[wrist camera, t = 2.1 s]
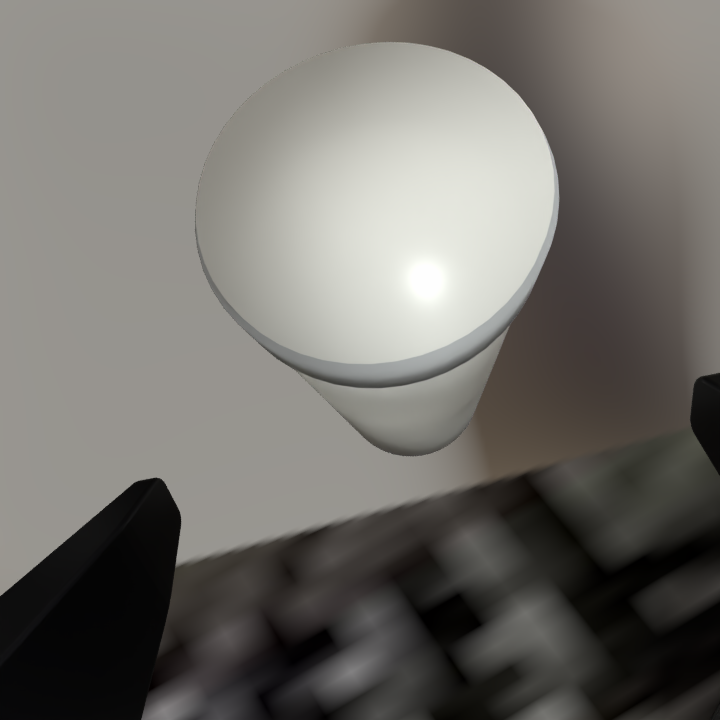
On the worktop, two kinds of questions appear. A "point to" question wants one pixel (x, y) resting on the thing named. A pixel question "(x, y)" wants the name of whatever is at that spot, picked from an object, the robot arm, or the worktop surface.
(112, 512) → the robot arm
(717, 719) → the duct collar
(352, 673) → the worktop surface
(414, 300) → the white cylinder
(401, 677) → the worktop surface
